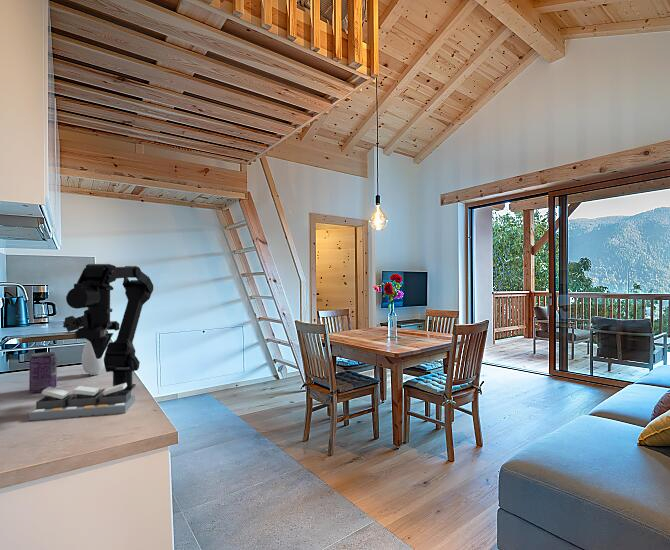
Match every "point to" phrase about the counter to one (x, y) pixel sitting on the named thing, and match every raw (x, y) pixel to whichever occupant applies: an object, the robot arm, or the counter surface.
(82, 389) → the middle rocker
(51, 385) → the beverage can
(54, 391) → the left rocker
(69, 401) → the switch panel
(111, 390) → the right rocker
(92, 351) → the sauce bottle
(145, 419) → the counter surface
